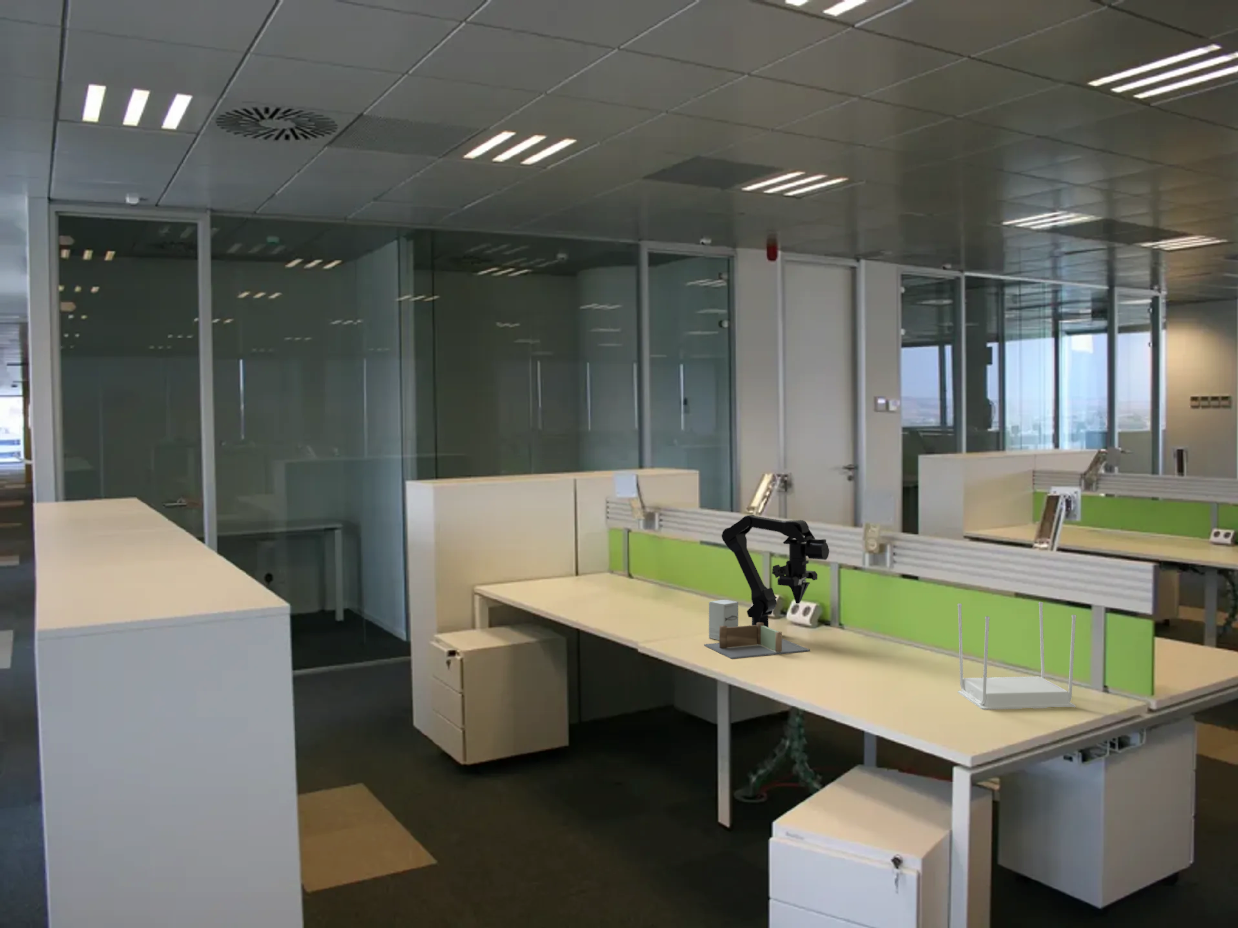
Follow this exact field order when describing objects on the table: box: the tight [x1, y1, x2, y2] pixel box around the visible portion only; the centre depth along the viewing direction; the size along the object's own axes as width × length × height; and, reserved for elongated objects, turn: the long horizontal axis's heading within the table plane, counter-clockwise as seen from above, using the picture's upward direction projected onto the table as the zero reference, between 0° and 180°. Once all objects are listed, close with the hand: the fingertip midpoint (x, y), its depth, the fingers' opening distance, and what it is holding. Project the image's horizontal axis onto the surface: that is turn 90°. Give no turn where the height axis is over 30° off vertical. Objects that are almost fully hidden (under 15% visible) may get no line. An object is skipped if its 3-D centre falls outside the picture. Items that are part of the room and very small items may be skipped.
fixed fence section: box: [718, 622, 764, 649], centre depth 336 cm, size 2×16×7 cm, turn 110°
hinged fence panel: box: [761, 626, 783, 652], centre depth 331 cm, size 2×12×6 cm, turn 20°
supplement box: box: [708, 599, 739, 641], centre depth 350 cm, size 7×7×13 cm
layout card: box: [703, 638, 811, 660], centre depth 335 cm, size 20×28×1 cm
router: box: [957, 601, 1077, 711], centre depth 272 cm, size 19×25×24 cm
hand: (797, 603), depth 348 cm, fingers closed
